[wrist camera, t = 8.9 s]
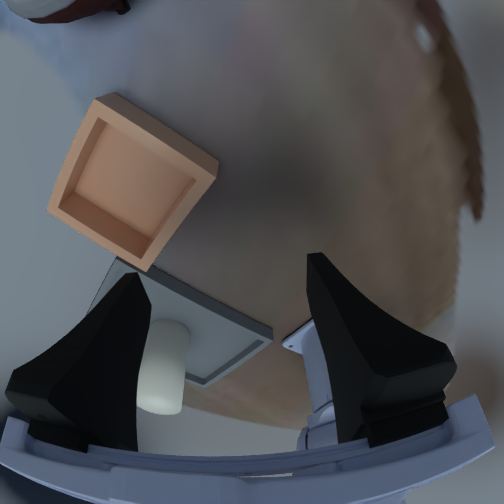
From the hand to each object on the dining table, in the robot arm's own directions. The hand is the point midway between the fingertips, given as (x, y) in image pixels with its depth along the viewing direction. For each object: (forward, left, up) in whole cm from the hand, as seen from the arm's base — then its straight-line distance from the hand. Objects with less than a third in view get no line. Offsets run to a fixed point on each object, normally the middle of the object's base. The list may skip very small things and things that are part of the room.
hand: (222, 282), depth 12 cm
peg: (-4, +15, -9) cm, 18 cm away
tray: (-4, +15, -9) cm, 18 cm away
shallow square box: (+6, +3, -9) cm, 12 cm away
